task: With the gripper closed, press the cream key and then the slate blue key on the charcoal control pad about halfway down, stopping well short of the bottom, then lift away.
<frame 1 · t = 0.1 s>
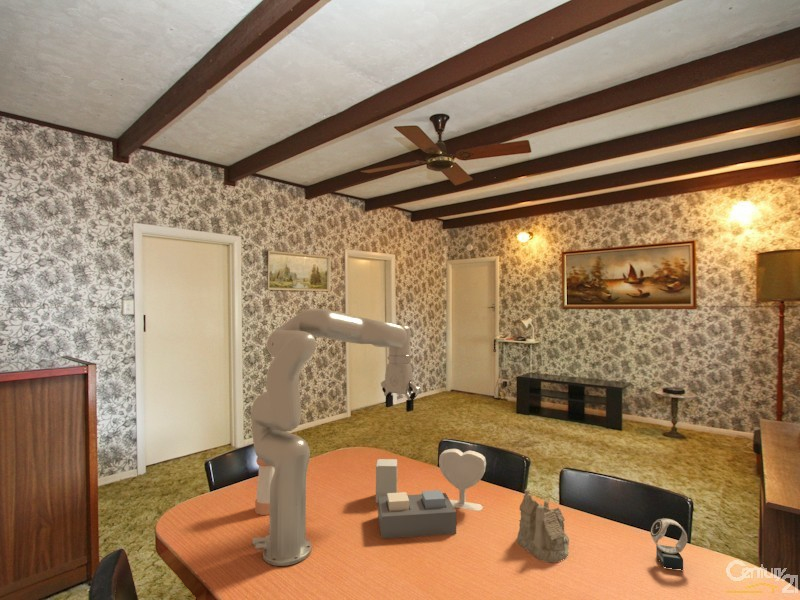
hand: (399, 408, 146), 31 cm above the table, tool pointing down, fingers open, 9 cm apart
control pad: (415, 524, 127), on the table
slate blue key: (433, 503, 128), point 6 cm above the table, slide at 0.0 cm
watch: (669, 564, 108), on the table
ceramic cottage: (547, 545, 117), on the table
pepper shaker: (266, 510, 137), on the table
cream key: (397, 505, 127), point 6 cm above the table, slide at 0.0 cm
supplement box: (386, 499, 145), on the table
heart sculpture: (462, 505, 140), on the table
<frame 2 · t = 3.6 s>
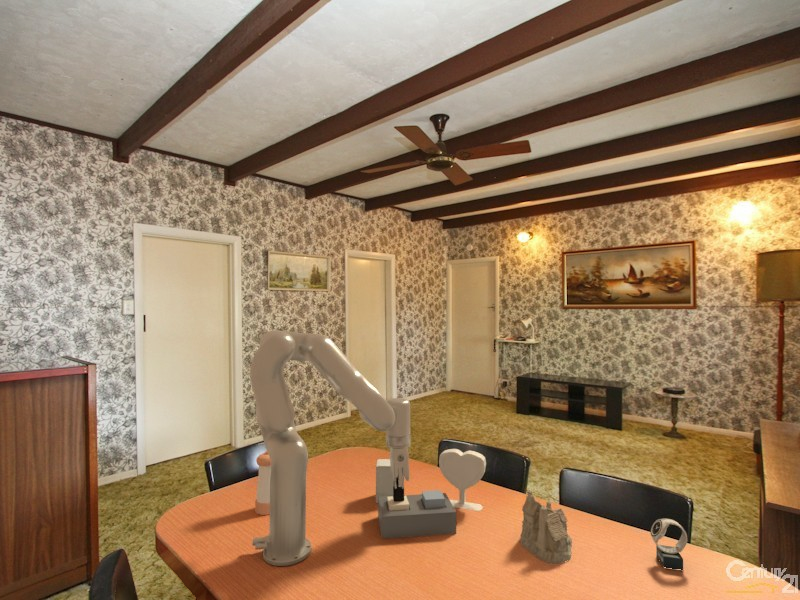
hand: (398, 500, 127), 8 cm above the table, tool pointing down, fingers closed
cream key: (397, 508, 127), point 5 cm above the table, slide at 1.1 cm, touching gripper
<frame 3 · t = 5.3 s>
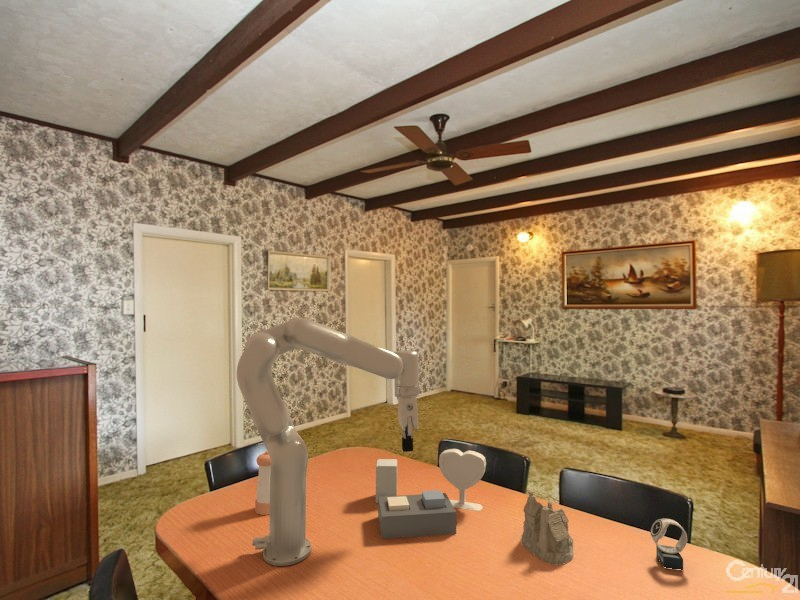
hand: (407, 450, 128), 23 cm above the table, tool pointing down, fingers closed
cream key: (397, 509, 127), point 5 cm above the table, slide at 1.3 cm
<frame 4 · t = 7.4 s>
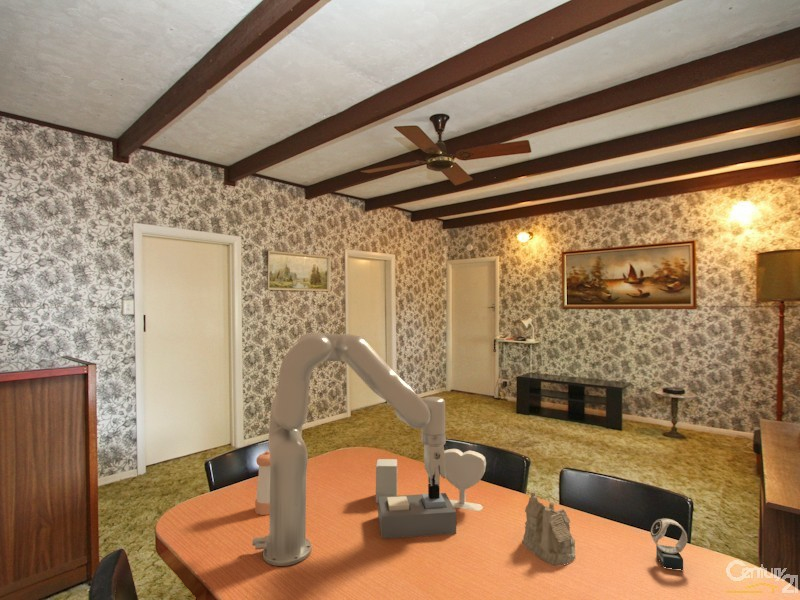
hand: (433, 497, 128), 8 cm above the table, tool pointing down, fingers closed
slate blue key: (433, 505, 128), point 5 cm above the table, slide at 0.9 cm, touching gripper
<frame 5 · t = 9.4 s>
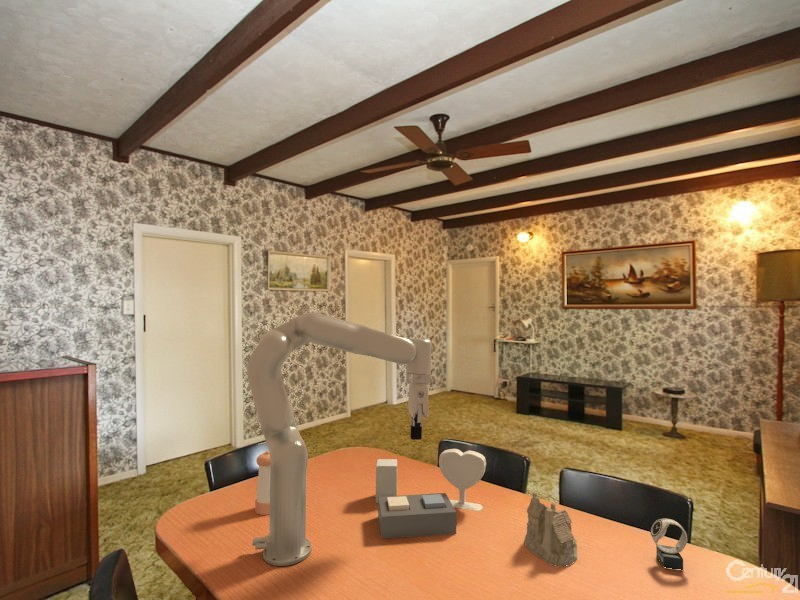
hand: (415, 438, 127), 26 cm above the table, tool pointing down, fingers closed
slate blue key: (433, 507, 128), point 5 cm above the table, slide at 1.2 cm
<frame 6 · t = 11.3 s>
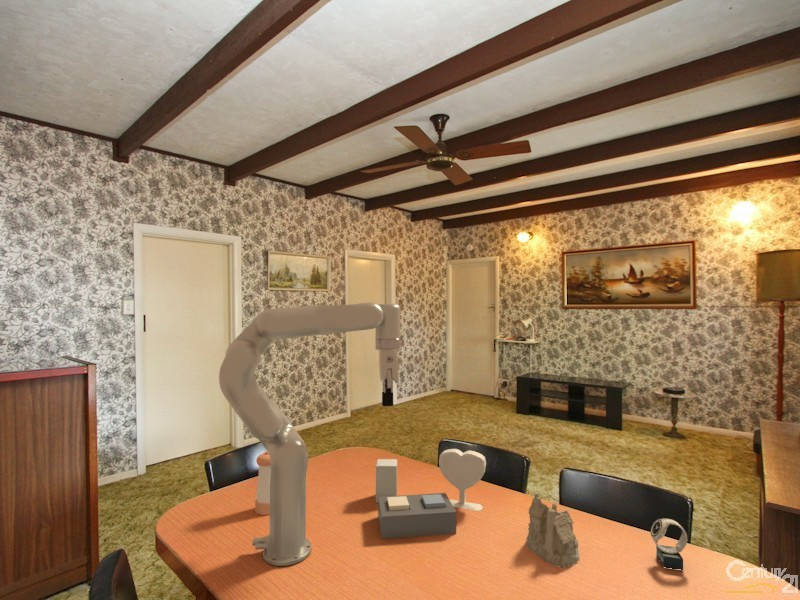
hand: (387, 405, 125), 37 cm above the table, tool pointing down, fingers closed
at the end: cream key slide at 1.3 cm; slate blue key slide at 1.2 cm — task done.
